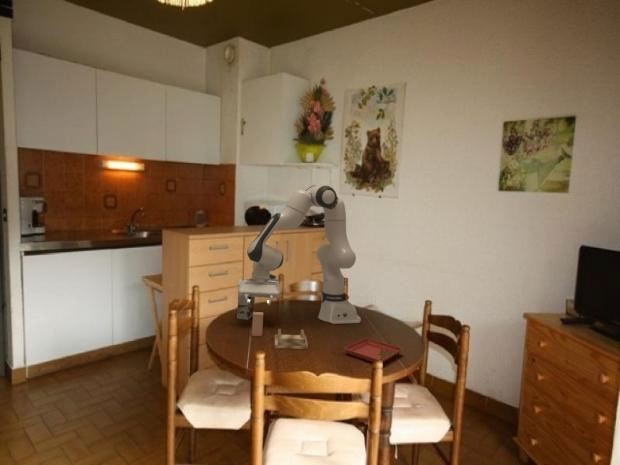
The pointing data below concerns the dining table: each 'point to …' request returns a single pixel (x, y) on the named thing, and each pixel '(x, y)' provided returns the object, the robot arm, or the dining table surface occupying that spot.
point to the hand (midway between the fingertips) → (258, 304)
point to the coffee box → (245, 308)
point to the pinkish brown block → (257, 324)
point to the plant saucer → (371, 349)
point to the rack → (291, 341)
